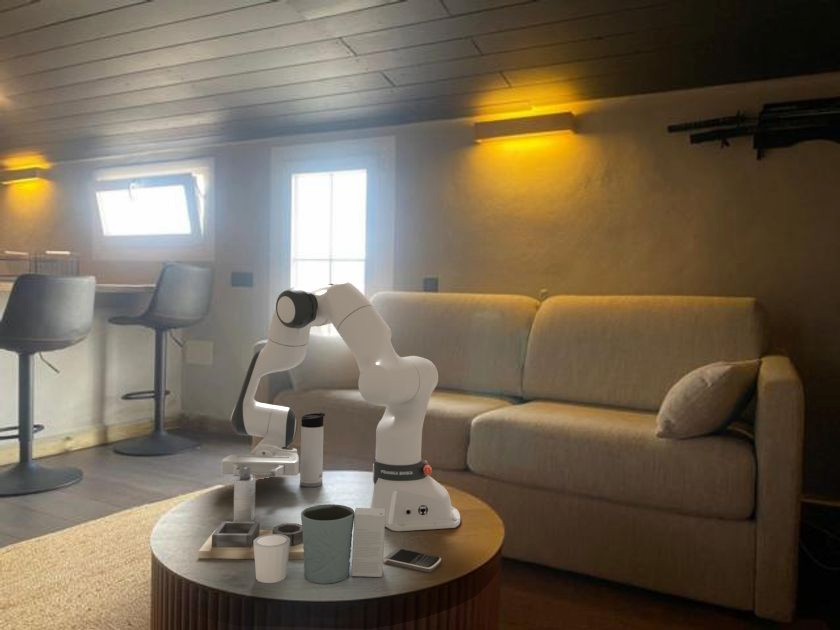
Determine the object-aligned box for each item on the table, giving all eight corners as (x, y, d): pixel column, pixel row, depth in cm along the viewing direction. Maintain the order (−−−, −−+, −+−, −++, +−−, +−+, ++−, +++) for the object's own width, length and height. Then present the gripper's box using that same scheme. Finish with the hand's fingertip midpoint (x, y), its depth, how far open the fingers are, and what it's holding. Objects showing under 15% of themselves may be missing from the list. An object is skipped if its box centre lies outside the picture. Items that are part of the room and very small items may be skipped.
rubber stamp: (254, 517, 153) (255, 465, 153) (250, 523, 149) (251, 470, 149) (237, 517, 153) (238, 465, 153) (233, 523, 149) (234, 470, 149)
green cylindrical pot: (295, 584, 118) (296, 520, 118) (306, 562, 128) (306, 502, 128) (350, 585, 118) (351, 521, 118) (356, 563, 128) (357, 503, 128)
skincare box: (382, 568, 126) (386, 508, 126) (382, 577, 122) (386, 515, 122) (351, 567, 126) (355, 506, 126) (350, 576, 122) (354, 514, 122)
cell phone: (431, 576, 125) (431, 568, 125) (380, 564, 129) (380, 557, 129) (443, 564, 130) (443, 557, 130) (394, 553, 135) (394, 547, 135)
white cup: (256, 568, 125) (256, 533, 125) (291, 568, 125) (292, 533, 125) (249, 584, 118) (249, 547, 118) (287, 584, 118) (287, 546, 118)
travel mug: (326, 485, 180) (328, 414, 180) (304, 488, 177) (305, 416, 177) (318, 479, 186) (320, 411, 185) (296, 482, 183) (298, 412, 182)
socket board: (315, 537, 142) (316, 519, 142) (308, 559, 130) (309, 539, 130) (215, 536, 141) (215, 518, 141) (198, 558, 129) (198, 538, 129)
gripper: (228, 447, 176) (214, 460, 163) (302, 448, 177) (295, 462, 163) (227, 469, 177) (213, 484, 163) (302, 471, 177) (294, 486, 164)
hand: (255, 473), depth 163 cm, fingers open, 8 cm apart
